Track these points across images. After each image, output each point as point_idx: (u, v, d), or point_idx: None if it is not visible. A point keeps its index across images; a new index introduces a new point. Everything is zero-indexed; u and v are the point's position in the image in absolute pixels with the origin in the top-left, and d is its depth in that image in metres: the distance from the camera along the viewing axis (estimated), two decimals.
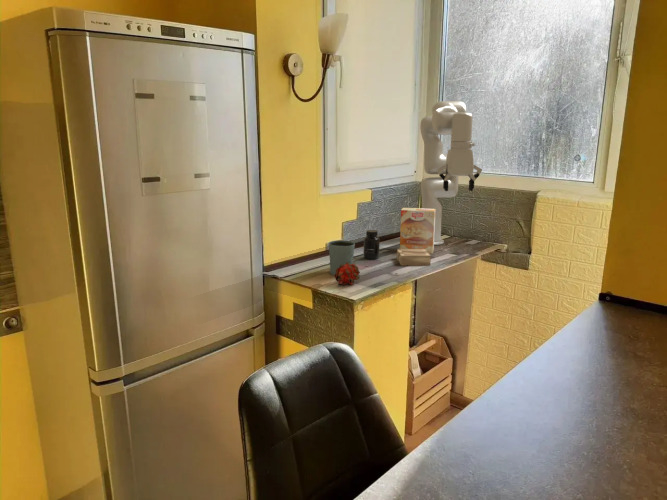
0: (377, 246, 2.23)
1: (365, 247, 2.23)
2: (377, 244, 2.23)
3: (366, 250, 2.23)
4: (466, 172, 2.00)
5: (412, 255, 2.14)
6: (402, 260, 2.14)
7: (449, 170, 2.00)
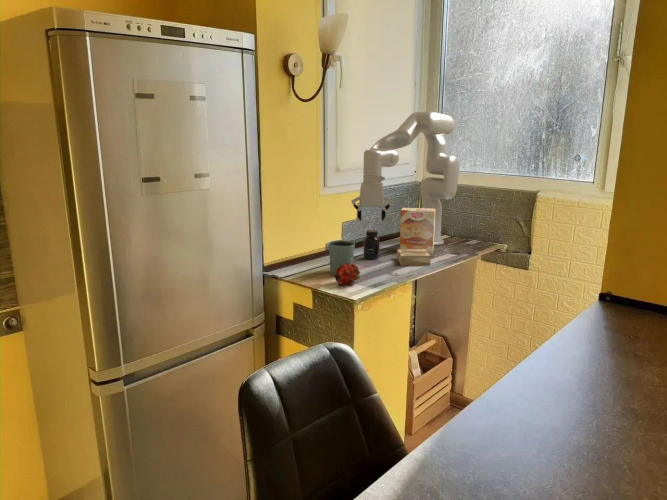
0: (377, 246, 2.23)
1: (365, 247, 2.23)
2: (377, 244, 2.23)
3: (366, 250, 2.23)
4: (377, 204, 2.19)
5: (412, 255, 2.14)
6: (402, 260, 2.14)
7: (361, 201, 2.18)
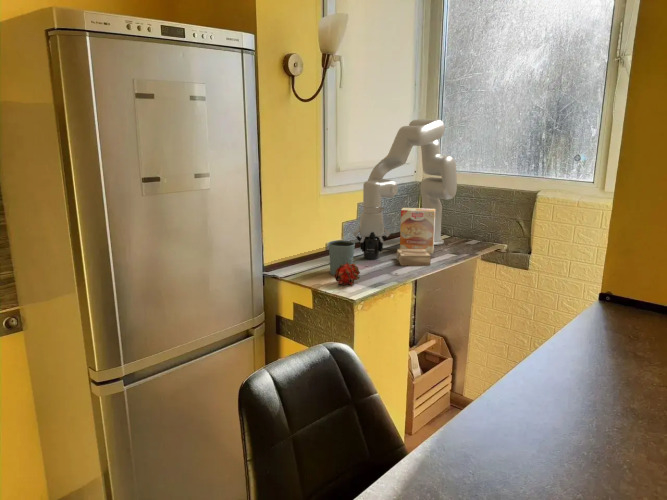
0: (377, 246, 2.23)
1: (365, 247, 2.23)
2: (377, 244, 2.23)
3: (366, 250, 2.23)
4: (377, 234, 2.22)
5: (412, 255, 2.14)
6: (402, 260, 2.14)
7: (361, 232, 2.21)
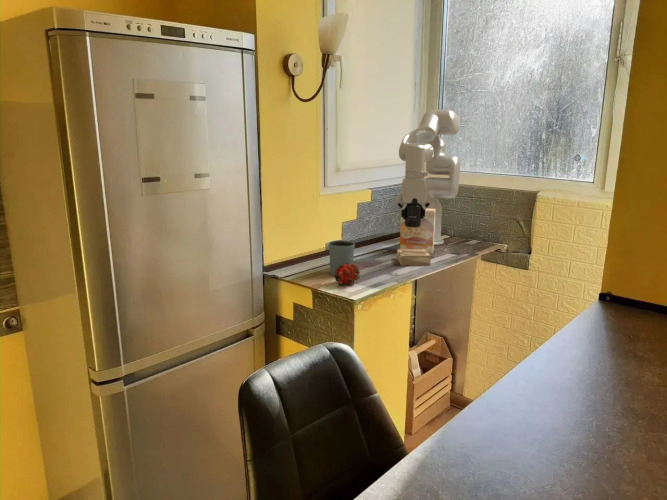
0: (420, 213, 2.13)
1: (407, 214, 2.14)
2: (419, 211, 2.13)
3: (408, 217, 2.14)
4: (420, 200, 2.12)
5: (412, 255, 2.14)
6: (402, 260, 2.14)
7: (403, 198, 2.12)
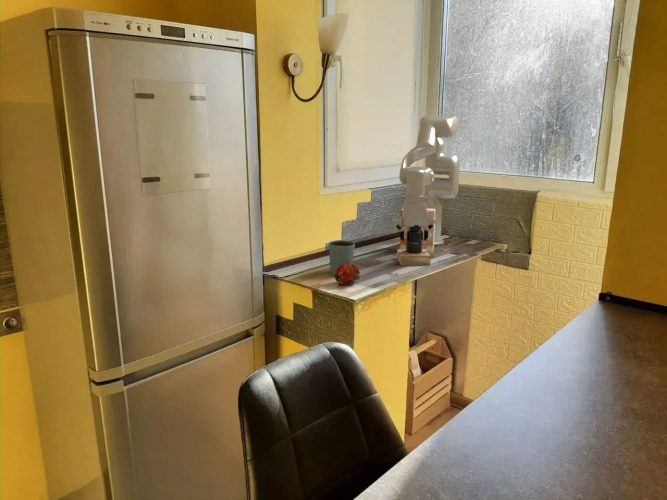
0: (421, 240, 2.16)
1: (408, 241, 2.16)
2: (421, 237, 2.15)
3: (409, 244, 2.16)
4: (421, 224, 2.14)
5: (412, 255, 2.14)
6: (402, 260, 2.14)
7: (404, 222, 2.14)
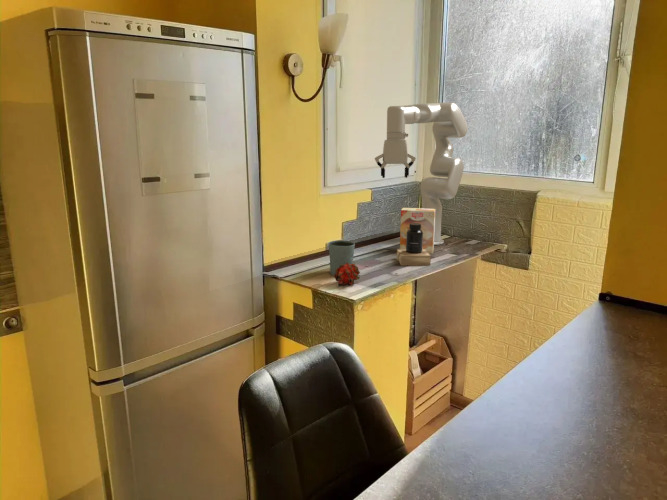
0: (421, 240, 2.16)
1: (408, 241, 2.16)
2: (421, 237, 2.15)
3: (409, 244, 2.16)
4: (401, 161, 2.19)
5: (412, 255, 2.14)
6: (402, 260, 2.14)
7: (385, 158, 2.18)
